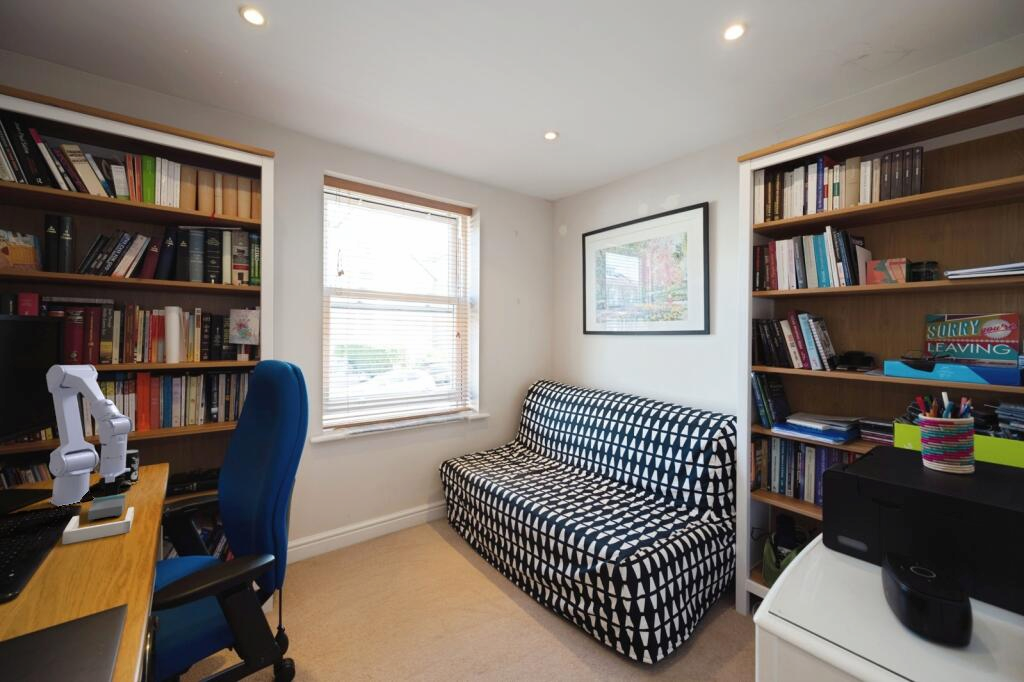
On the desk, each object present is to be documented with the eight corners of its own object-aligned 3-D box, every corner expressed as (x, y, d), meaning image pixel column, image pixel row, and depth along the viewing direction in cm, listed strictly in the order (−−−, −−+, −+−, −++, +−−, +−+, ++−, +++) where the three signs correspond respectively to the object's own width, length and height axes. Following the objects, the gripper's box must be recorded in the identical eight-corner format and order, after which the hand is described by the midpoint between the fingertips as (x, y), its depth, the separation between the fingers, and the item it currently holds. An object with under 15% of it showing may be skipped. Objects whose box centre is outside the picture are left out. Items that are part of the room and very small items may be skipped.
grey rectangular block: (93, 511, 123) (93, 498, 123) (124, 507, 128) (125, 493, 128) (87, 522, 116) (88, 508, 116) (121, 517, 120) (122, 503, 120)
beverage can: (125, 487, 145) (127, 453, 146) (107, 487, 146) (109, 453, 146) (142, 482, 152) (144, 449, 152) (125, 481, 152) (127, 449, 153)
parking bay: (72, 527, 112) (72, 516, 112) (133, 517, 120) (134, 506, 120) (62, 544, 103) (63, 532, 103) (129, 532, 110) (130, 520, 110)
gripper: (129, 459, 126) (126, 504, 125) (132, 450, 137) (130, 491, 136) (96, 462, 121) (93, 509, 121) (103, 453, 132) (100, 495, 132)
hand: (111, 500), depth 128 cm, fingers closed
